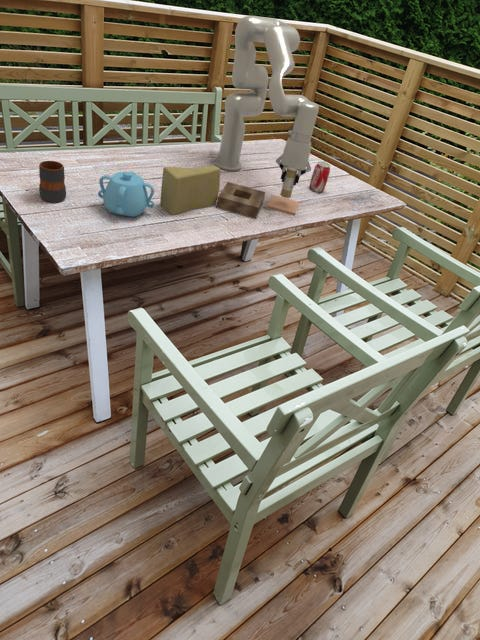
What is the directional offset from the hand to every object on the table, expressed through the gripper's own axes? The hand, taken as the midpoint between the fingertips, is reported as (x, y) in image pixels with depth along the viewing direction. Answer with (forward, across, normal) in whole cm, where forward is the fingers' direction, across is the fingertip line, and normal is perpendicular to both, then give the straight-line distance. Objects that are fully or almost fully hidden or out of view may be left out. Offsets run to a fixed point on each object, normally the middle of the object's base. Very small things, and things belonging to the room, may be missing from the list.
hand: (288, 182), depth 194 cm
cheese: (+11, -33, -23) cm, 41 cm away
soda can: (+10, +12, +27) cm, 31 cm away
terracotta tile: (+10, 0, 0) cm, 10 cm away
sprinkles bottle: (+6, 0, 0) cm, 6 cm away
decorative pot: (+10, -52, -39) cm, 66 cm away
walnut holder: (+10, -16, -10) cm, 21 cm away
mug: (+10, -77, -44) cm, 89 cm away
